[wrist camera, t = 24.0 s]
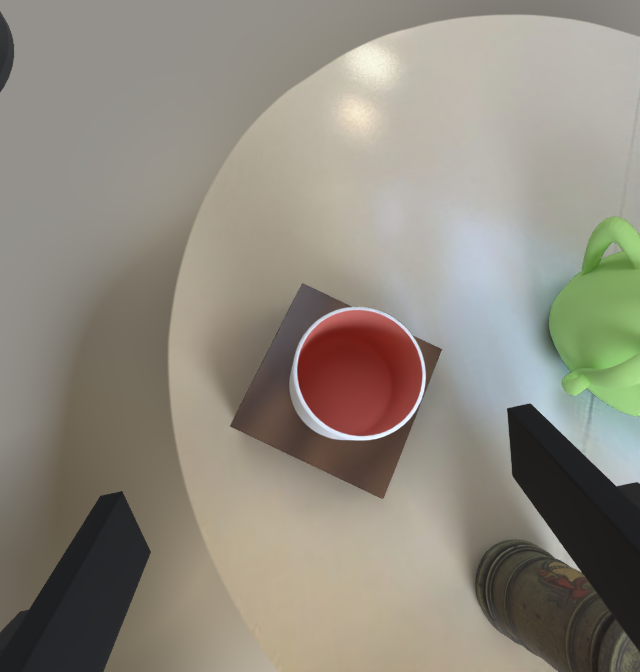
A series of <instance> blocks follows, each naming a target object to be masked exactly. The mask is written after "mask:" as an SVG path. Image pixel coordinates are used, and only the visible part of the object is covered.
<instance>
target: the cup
mask: <svg viewBox="0 0 640 672" xmlns="http://www.w3.org/2000/svg"><path fill="white" fill-rule="evenodd" d="M425 380H426V372H425V363H424V359H423V356H422V353H421V350H420V348H419V346H418V344H417V342H416V340H415V339H414V337H413V336H412V334H411V333H410V332H409V331H408V330H407V328H406V327H405V326H404V325H402V324H401V323H400V322H399V321H398V320H396V319H395V318H393V317H392V316H390V315H388V314H386V313H383V312H381V311H379V310H375V309H372V308H366V307H348V308H343V309H339V310H336V311H333V312H330V313H328V314H327V315H325V316H323V317H321V318H320V319H318V320H317V321H316V322H315V323H314V324H313V325H312V326H311V327H310V328H309V329H308V330H307V331H306V333H305V334H304V335H303V337H302V339H301V341H300V342H299V345H298V347H297V350H296V353H295V356H294V361H293V365H292V370H291V374H290V381H289V388H290V396H291V400H292V403H293V406H294V408H295V410H296V412H297V414H298V415H299V417H300V418H301V419H302V421H303V422H304V423H305V424H306V425H307V426H308V427H310V428H311V429H312V430H313V431H315V432H317V433H318V434H320V435H323V436H325V437H328V438H331V439H337V440H373V439H378V438H381V437H384V436H386V435H389V434H391V433H393V432H394V431H396V430H398V429H399V428H400V427H402V426H403V425H404V424H405V423H406V422H407V421H408V420H409V419H410V418H411V417H412V415H413V414H414V413H415V411H416V409H417V408H418V406H419V404H420V401H421V399H422V396H423V393H424V388H425Z"/></svg>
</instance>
